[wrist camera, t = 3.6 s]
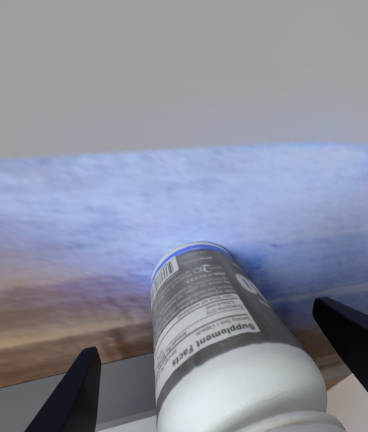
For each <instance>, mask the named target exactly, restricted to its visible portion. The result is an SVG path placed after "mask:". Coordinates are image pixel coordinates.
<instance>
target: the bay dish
mask: <svg viewBox="0 0 368 432" xmlns="http://www.w3.org/2000/svg"><path fill="white" fill-rule="evenodd" d="M65 374H66V373H64V374H59V375H55V376H51V377H47V378H42V379H38V380H34V381H29V382H25V383H21V384H16V385H12V386H8V387H3V388H0V432H24V431H25V430H26V428H27V427H28V425H29V424H30V423H31V421H32V420H33V419H34V417H35V416H36V414H37V413H38V412H39V410H40V409H41V407H42V406H43V405H44V403H45V402H46V400H47V399H48V398H49V396H50V395H51V393H52V392H53V391H54V389H55V388H56V386H57V385H58V384H59V382H60V381H61V379H62V378H63V377H64V375H65ZM95 432H157V428H156V397H155V370H154V353H150V354H146V355H141V356H137V357H133V358H128V359H124V360H120V361H115V362H111V363H107V364H102V365H101V377H100V389H99V400H98V412H97V421H96V428H95Z"/></svg>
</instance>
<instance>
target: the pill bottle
mask: <svg viewBox="0 0 368 432" xmlns="http://www.w3.org/2000/svg"><path fill="white" fill-rule="evenodd" d="M151 311H152V327H153V345H154V370H155V397H156V428H157V432H346V430H345V428H344V426H343V425H342V423H341V422H340V421H339V420H338V419H337V418H336V417H334V416H332V415H330V414H327V413H326V408H327V390H326V385H325V382H324V379H323V376H322V374H321V372H320V370H319V368H318V367H317V365H316V364H315V362H314V361H313V360H312V358H311V356H310V355H309V354H308V352H307V350H306V349H305V348H304V347H303V346H302V345H301V343H300V342H299V341H298V339H297V338H296V337H295V336H294V335H293V333H292V332H291V331H290V330H289V328H288V327H287V326H286V325H285V323H284V322H283V321H282V320H281V319H280V318H279V316H278V315H277V313H276V312H275V311H274V310H273V309H272V307H271V306H270V305H269V303H268V302H267V301H266V299H265V298H264V297H263V295H262V294H261V293H260V291H259V290H258V289H257V288H256V286H255V285H254V284H253V282H252V281H251V280H250V279H249V277H248V276H247V275H246V274H245V273H244V271H243V270H242V269H241V268H240V266H239V265H238V264H237V262H236V261H235V260H234V258H233V257H232V256H231V255H230V254H229V253H228V252H227V251H226V250H225V249H223V248H222V247H220V246H218V245H215V244H212V243H208V242H193V243H188V244H185V245H182V246H179V247H177V248H175V249H173V250H172V251H170V252H169V253H167V254H166V255H165V256H164V257H163V258H162V259H161V260H160V261H159V263H158V264H157V266H156V268H155V270H154V272H153V275H152V279H151Z"/></svg>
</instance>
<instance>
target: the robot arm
mask: <svg viewBox="0 0 368 432" xmlns="http://www.w3.org/2000/svg"><path fill="white" fill-rule="evenodd" d="M312 314H313V317H314V319H315V321H316V322H317V324H318V325H319V327H320V328H321V330H322V331H323V333H324V334H325V336H326V337H327V339H328V340H329V342H330V343H331V345H332V346H333V348H334V349H335V351H336V352H337V353H338V355H339V356H340V357H341V359H342V360H343V361H344V363H345V364H346V365H347V367H348V368H349V369H350V370H351V372H352V373H353V374H354V375H355V377H356V378H357V379H358V380H359V382H360V383H361V384H362V385H363V387H364V388H365V389H366V390H367V392H368V315H367V314H364V313H362V312H360V311H358V310H355V309H353V308H351V307H348V306H346V305H344V304H342V303H339V302H337V301H335V300H333V299H330V298H328V297H319V298H316V299H315V301H314V306H313V311H312ZM100 377H101V360H100V357H99V354H98V351H97V348H96V347H89V348H85V349H83V350H82V352H81V353H80V354H79V356H78V357H77V359H76V360H75V361H74V363H73V364H72V366H71V367H70V368H69V370H68V371H67V373H66V374H65V375H64V377H63V378H62V379H61V381H60V382H59V384H58V385H57V386H56V388H55V389H54V391H53V392H52V393H51V395H50V396H49V398H48V399H47V400H46V402H45V403H44V405H43V406H42V407H41V409H40V410H39V412H38V413H37V414H36V416H35V417H34V419H33V420H32V421H31V423H30V424H29V425H28V427H27V428H26V430H25V431H24V432H95V428H96V421H97V412H98V400H99V389H100Z"/></svg>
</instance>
